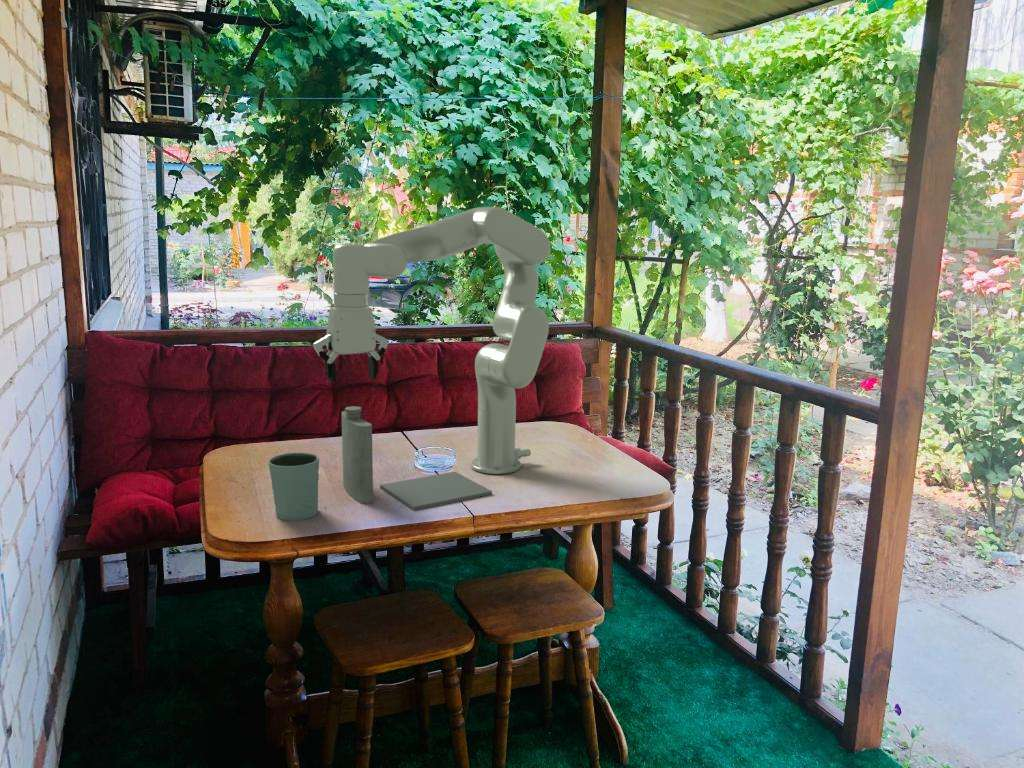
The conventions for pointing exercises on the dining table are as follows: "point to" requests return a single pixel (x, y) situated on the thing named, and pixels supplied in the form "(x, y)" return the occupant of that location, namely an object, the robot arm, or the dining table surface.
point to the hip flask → (357, 455)
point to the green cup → (295, 485)
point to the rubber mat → (434, 490)
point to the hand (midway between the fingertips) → (352, 378)
